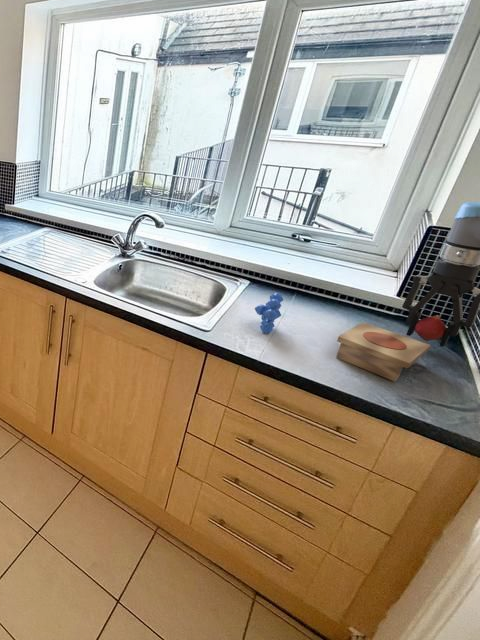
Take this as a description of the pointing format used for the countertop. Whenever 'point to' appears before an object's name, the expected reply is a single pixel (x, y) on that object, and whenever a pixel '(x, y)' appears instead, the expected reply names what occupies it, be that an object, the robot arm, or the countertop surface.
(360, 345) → the wooden stand red oval
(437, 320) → the onion
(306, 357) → the countertop surface
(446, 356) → the countertop surface
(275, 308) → the grapes
